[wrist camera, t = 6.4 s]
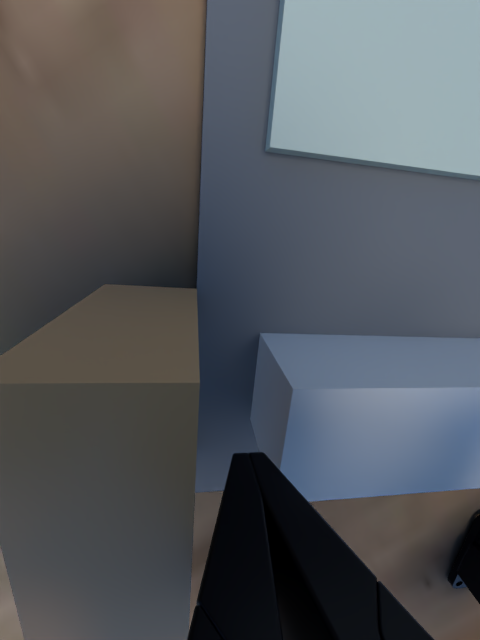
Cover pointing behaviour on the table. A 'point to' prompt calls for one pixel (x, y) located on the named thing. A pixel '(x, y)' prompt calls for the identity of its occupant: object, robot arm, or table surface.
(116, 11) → the table surface
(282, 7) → the pad
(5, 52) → the table surface
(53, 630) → the beige notched block
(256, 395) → the pale blue rectangular bar
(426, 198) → the mat
